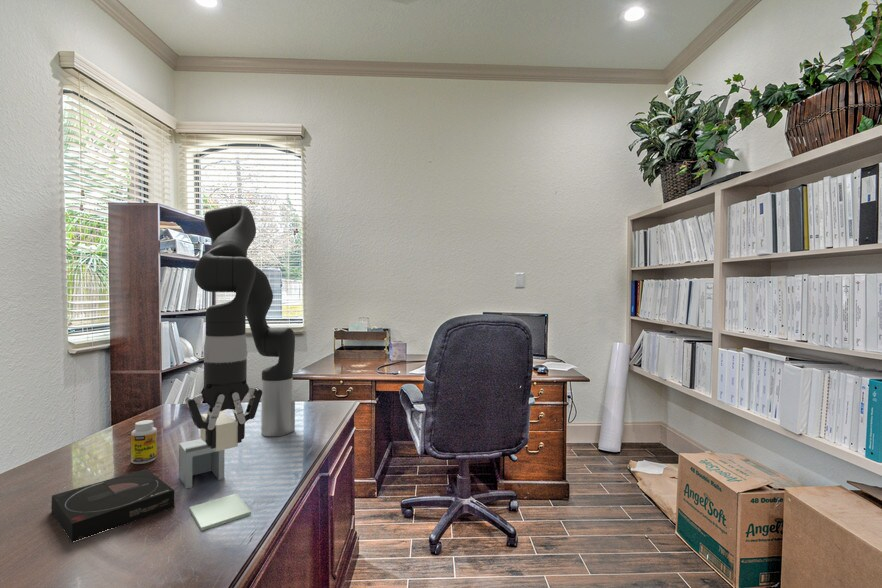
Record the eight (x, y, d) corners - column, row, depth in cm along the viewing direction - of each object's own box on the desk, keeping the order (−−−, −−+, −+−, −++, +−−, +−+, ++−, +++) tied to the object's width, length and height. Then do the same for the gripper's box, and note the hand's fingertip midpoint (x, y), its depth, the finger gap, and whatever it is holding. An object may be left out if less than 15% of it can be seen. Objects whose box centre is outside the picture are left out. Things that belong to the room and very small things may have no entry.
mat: (236, 496, 94) (236, 493, 94) (251, 514, 86) (251, 511, 86) (189, 509, 88) (189, 507, 88) (201, 530, 80) (201, 527, 80)
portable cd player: (145, 485, 100) (145, 468, 100) (174, 509, 89) (174, 490, 89) (51, 513, 87) (51, 494, 87) (72, 546, 76) (72, 523, 76)
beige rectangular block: (220, 433, 92) (221, 410, 92) (237, 446, 85) (237, 421, 85) (200, 438, 89) (200, 414, 89) (216, 451, 82) (216, 425, 82)
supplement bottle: (130, 466, 109) (130, 426, 109) (131, 459, 113) (131, 421, 113) (156, 462, 112) (156, 423, 112) (156, 455, 116) (156, 417, 116)
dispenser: (215, 467, 108) (215, 432, 108) (224, 478, 102) (224, 441, 102) (179, 476, 103) (179, 439, 103) (186, 488, 97) (186, 449, 97)
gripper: (256, 352, 91) (256, 432, 92) (180, 359, 82) (179, 447, 82) (269, 356, 86) (268, 441, 86) (188, 364, 76) (188, 459, 76)
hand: (225, 444), depth 84 cm, fingers closed on beige rectangular block, 4 cm apart
